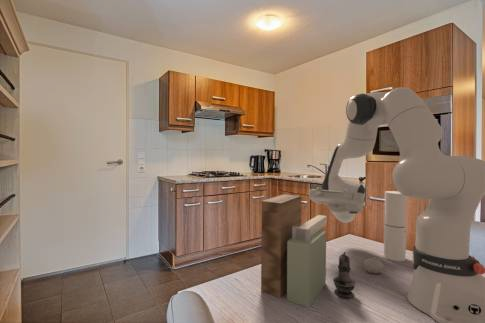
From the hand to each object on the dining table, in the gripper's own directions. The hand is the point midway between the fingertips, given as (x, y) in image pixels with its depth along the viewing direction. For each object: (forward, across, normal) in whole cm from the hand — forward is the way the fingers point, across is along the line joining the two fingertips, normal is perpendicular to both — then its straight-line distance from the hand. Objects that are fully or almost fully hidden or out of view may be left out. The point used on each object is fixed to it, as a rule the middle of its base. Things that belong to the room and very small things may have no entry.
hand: (331, 189), depth 95 cm
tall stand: (+9, -8, +35) cm, 37 cm away
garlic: (-12, +14, +24) cm, 30 cm away
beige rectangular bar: (+12, 0, +19) cm, 23 cm away
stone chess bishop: (+5, +9, +33) cm, 35 cm away
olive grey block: (+9, 0, +35) cm, 37 cm away
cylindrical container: (-28, +20, +15) cm, 37 cm away
